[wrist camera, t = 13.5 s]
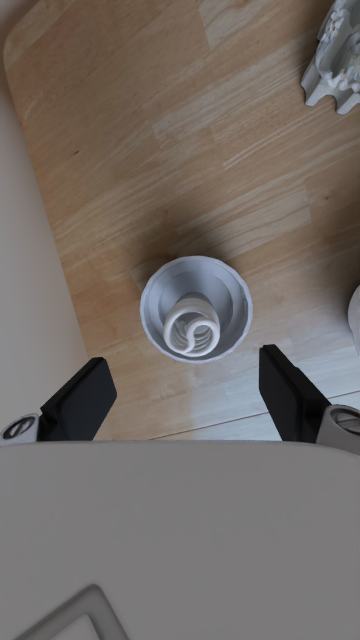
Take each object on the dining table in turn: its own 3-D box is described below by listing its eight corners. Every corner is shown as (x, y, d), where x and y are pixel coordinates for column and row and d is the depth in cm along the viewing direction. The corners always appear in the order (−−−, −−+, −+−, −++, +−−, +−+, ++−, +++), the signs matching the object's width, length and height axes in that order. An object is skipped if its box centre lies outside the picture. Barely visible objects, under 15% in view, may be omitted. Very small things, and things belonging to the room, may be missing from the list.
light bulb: (194, 278, 25) (189, 294, 14) (221, 304, 26) (237, 340, 15) (168, 305, 27) (145, 338, 16) (194, 329, 28) (190, 377, 16)
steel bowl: (145, 333, 30) (133, 349, 24) (159, 246, 25) (148, 243, 20) (225, 353, 29) (231, 373, 24) (255, 268, 24) (270, 271, 19)
